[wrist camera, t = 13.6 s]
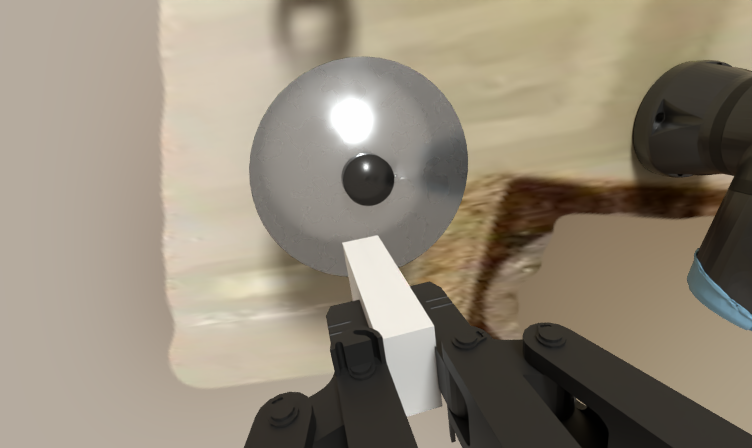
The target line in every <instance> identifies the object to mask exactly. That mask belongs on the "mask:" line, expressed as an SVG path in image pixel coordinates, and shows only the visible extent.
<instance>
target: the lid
mask: <svg viewBox="0 0 752 448" xmlns="http://www.w3.org/2000/svg"><path fill="white" fill-rule="evenodd" d="M249 173H250V186H251V192H252V197H253V201H254V204H255V207H256V210H257V212H258V214H259V217H260V219H261V221H262V223H263V225H264V226H265V228H266V229H267V231H268V232H269V234H270V235H271V237H272V238H273V239H274V240H275V241H276V242H277V243H278V245H279V246H280V247H281V248H282V249H284V250H285V251H286V252H287V253H288V254H289V255H291V256H292V257H293V258H295V259H296V260H298V261H300V262H301V263H303V264H305V265H307V266H309V267H311V268H313V269H315V270H318V271H321V272H324V273H327V274H332V275H337V276H346V277H348V271H347V266H346V261H345V255H344V250H343V245H342V243H344V242H348V241H353V240H358V239H362V238H367V237H372V236H376V235H378V236H379V238H380V240H381V241H382V243H383V244H384V246H385V248H386V249H387V251H388V252H389V254H390V256H391V257H392V259H393V260H394V262H395V264H396V265H397V267H398V268H399V267H401V266H404V265H405V264H407V263H409V262H411V261H412V260H414V259H416V258H417V257H419V256H420V255H421V254H423V253H424V252H425V251H427V250H428V249H429V248H430V247H431V246H432V245H433V244H434V243H435V242H436V241H437V240H438V239H439V238H440V236H441V235H442V234H443V233H444V232H445V230H446V229H447V227H448V226H449V224H450V223H451V221H452V220H453V218H454V216H455V214H456V212H457V210H458V208H459V205H460V203H461V200H462V197H463V193H464V190H465V186H466V180H467V173H468V154H467V145H466V140H465V136H464V132H463V129H462V126H461V123H460V121H459V118H458V116H457V114H456V112H455V111H454V109H453V107H452V105H451V104H450V102H449V101H448V100H447V98H446V97H445V95H444V94H443V93H442V92H441V91H440V90H439V89H438V88H437V87H436V86H435V85H434V84H433V83H432V82H431V81H429V80H428V79H427V78H426V77H424V76H423V75H422V74H420V73H418V72H417V71H415V70H413V69H411V68H410V67H407V66H405V65H402V64H400V63H397V62H395V61H391V60H387V59H382V58H375V57H348V58H344V59H339V60H334V61H331V62H328V63H325V64H322V65H319V66H317V67H315V68H313V69H311V70H309V71H308V72H306V73H304V74H302V75H301V76H299V77H298V78H297V79H295V80H294V81H292V82H291V83H290V84H289V85H288V86H287V87H286V88H285V89H283V90H282V91H281V92H280V93H279V94H278V96H277V97H276V98H275V100H274V101H273V102H272V103H271V105H270V106H269V108H268V109H267V111H266V113H265V115H264V116H263V118H262V120H261V122H260V124H259V127H258V129H257V132H256V134H255V137H254V141H253V145H252V149H251V155H250V166H249Z"/></svg>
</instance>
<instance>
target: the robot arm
mask: <svg viewBox="0 0 752 448" xmlns="http://www.w3.org/2000/svg"><path fill="white" fill-rule="evenodd" d="M634 147H635V151H636V154H637V157H638V159H639V160H640V162H641V163H642V165H643V166H644V167H645V168H646V169H648V170H649V171H651V172H653V173H656V174H661V175H665V176H669V177H688V176H692V175H713V174H727V175H732V176H734V178H733V180H732V182H731V184H730V186H729V188H728V190H727V192H726V194H725V197H724V199H723V201H722V203H721V205H720V207H719V209H718V211H717V213H716V215H715V217H714V219H713V221H712V224H711V226H710V228H709V230H708V232H707V234H706V236H705V238H704V240H703V242H702V245H701V246H700V248H698V249H697V250H696V251H695V253H694V261H693V264H692V266H691V269H690V271H689V273H688V276H687V282H688V285H689V289H690V291H691V292H692V293H693V295H694V296H695V297H696V298H697V299H698V300H699V301H700V302H701V303H702V304H704V305H705V306H706V307H708V308H709V309H710V310H712V311H713V312H715V313H716V314H718V315H719V316H721V317H722V318H724V319H726V320H728V321H729V322H731V323H733V324H735V325H737V326H739V327H740V328H743V329H745V330H751V331H752V71H750V70H746V69H742V68H737V67H732V66H730V65H729V64H726V63H724V62H720V61H715V60H703V61H689V62H685V63H682V64H679V65H677V66H675V67H673V68H672V69H670V70H669V71H667V72H666V73H665V74H663V75H662V76H661V77H660V78H659V79H658V80H657V81H656V82H655V84H654V85H653V86H652V87H651V89H650V90H649V91H648V93H647V95H646V96H645V98H644V100H643V102H642V104H641V106H640V108H639V111H638V114H637V117H636V121H635V126H634ZM342 245H343V250H344V255H345V261H346V266H347V271H348V277H349V282H350V288H351V293H352V298H353V301H351V302H347V303H343V304H339V305H335V306H331V307H330V309H329V311H328V313H327V316H326V318H327V324H328V330H329V335H330V341H331V347H330V352H331V357H332V361H333V366H334V370H335V372H334V375H333V378H332V379H331V381H330V382H329V383H328V384H327V386H326V387H324V388H323V389H322V390H320V391H319V392H317V393H316V394H314V395H312V396H310V397H309V398H308V397H307V396H305V395H304V394H301V393H299V392H287V393H283V394H279V395H277V396H276V397H274V398H272V399H270V400H269V401H268V402H266V404H264V405H263V406H262V407H261V408H260V410H259V412H258V413H257V415H256V417H255V420H254V422H253V425H252V428H251V430H250V433H249V435H248V438H247V441H246V444H245V446H244V448H418V447H417V444H416V441H415V438H414V436H413V434H412V430H411V427H410V425H409V422H408V419H407V416H410V415H414V414H417V413H421V412H424V411H427V410H431V409H434V408H437V407H441V406H442V399H441V393H442V395H443V397H444V399H445V401H446V403H447V408H448V419H449V429H450V437H451V441H452V442H455V441H456V440H455V433H456V435H457V437H458V440H459V442H460V444H461V446H462V448H752V435H751V434H749V433H747V432H746V431H744V430H742V429H741V428H739V427H737V426H735V425H734V424H732V423H730V422H729V421H727V420H725V419H723V418H722V417H720V416H718V415H716V414H715V413H713V412H711V411H710V410H708V409H706V408H704V407H702V406H701V405H699V404H697V403H696V402H694V401H692V400H691V399H689V398H687V397H685V396H684V395H682V394H680V393H678V392H677V391H675V390H673V389H672V388H670V387H668V386H666V385H665V384H663V383H661V382H660V381H658V380H656V379H654V378H653V377H651V376H649V375H648V374H646V373H644V372H642V371H641V370H639V369H637V368H635V367H634V366H632V365H630V364H629V363H627V362H625V361H623V360H622V359H620V358H618V357H616V356H615V355H613V354H611V353H610V352H608V351H606V350H604V349H603V348H601V347H599V346H598V345H596V344H594V343H592V342H591V341H589V340H587V339H586V338H584V337H582V336H580V335H578V334H577V333H575V332H573V331H572V330H570V329H568V328H566V327H563V326H561V325H558V324H553V323H537V324H534V325H530V326H529V327H528V328H527V329H525V331H524V333H523V340H495V339H492V337H491V336H490V335H489V334H488V333H486V332H485V331H484V330H482V329H479V328H477V327H472V326H470V325H469V323H468V322H467V321H466V319H465V318H464V317H463V315H462V314H461V313H460V312H459V310H458V309H457V308H456V306H455V305H454V304H452V301H451V300H450V299H449V297H447V295H446V294H445V292H444V291H443V290H442V288H441V287H439V286H437V285H435V284H433V283H431V282H426V283H422V284H418V285H413V286H409V285H408V283H407V281H406V280H405V278H404V277H403V275H402V273H401V272H400V270H399V269H398V267H397V265H396V264H395V262H394V260H393V259H392V257H391V256H390V254H389V252H388V251H387V249H386V248H385V246H384V244H383V243H382V241H381V240H380V238H379V236H378V235H376V236H372V237H367V238H362V239H358V240H353V241H348V242H344V243H342ZM576 398H577V399H578V400H580V401H581V402H582V403H584V404H585V405H586V406H585V405H583V404H581V403H580V402H579V401H577V400H576Z"/></svg>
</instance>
